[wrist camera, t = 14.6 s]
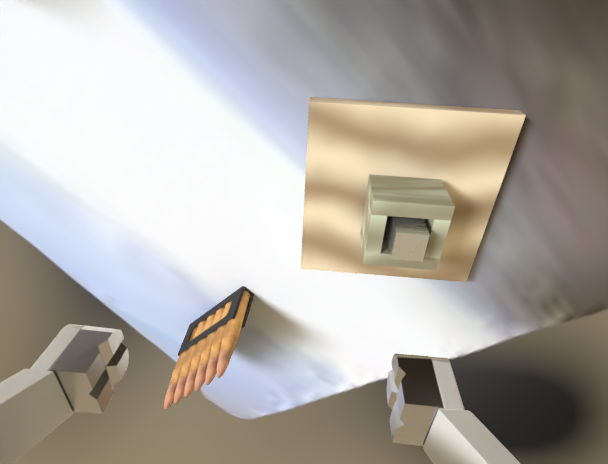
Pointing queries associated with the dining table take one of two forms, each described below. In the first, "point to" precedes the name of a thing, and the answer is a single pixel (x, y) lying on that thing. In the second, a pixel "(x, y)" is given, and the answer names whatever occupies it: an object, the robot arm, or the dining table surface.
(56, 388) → the robot arm
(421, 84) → the dining table surface
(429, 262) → the collar
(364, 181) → the shaft board
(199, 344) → the ammunition clip
